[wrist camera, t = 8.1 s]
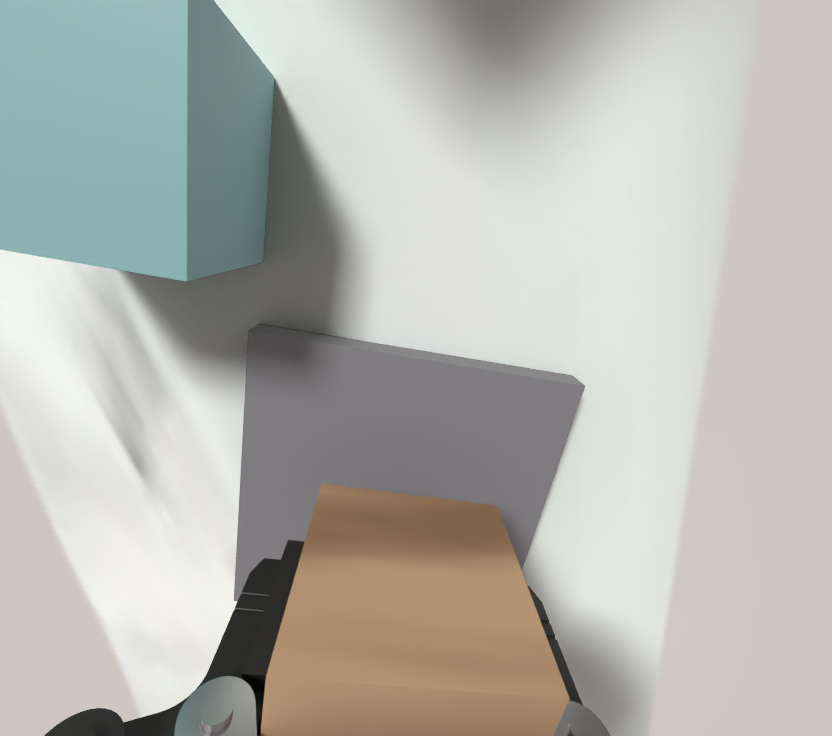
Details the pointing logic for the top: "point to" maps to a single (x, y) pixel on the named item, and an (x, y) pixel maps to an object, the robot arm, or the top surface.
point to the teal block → (133, 136)
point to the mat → (390, 433)
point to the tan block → (409, 626)
